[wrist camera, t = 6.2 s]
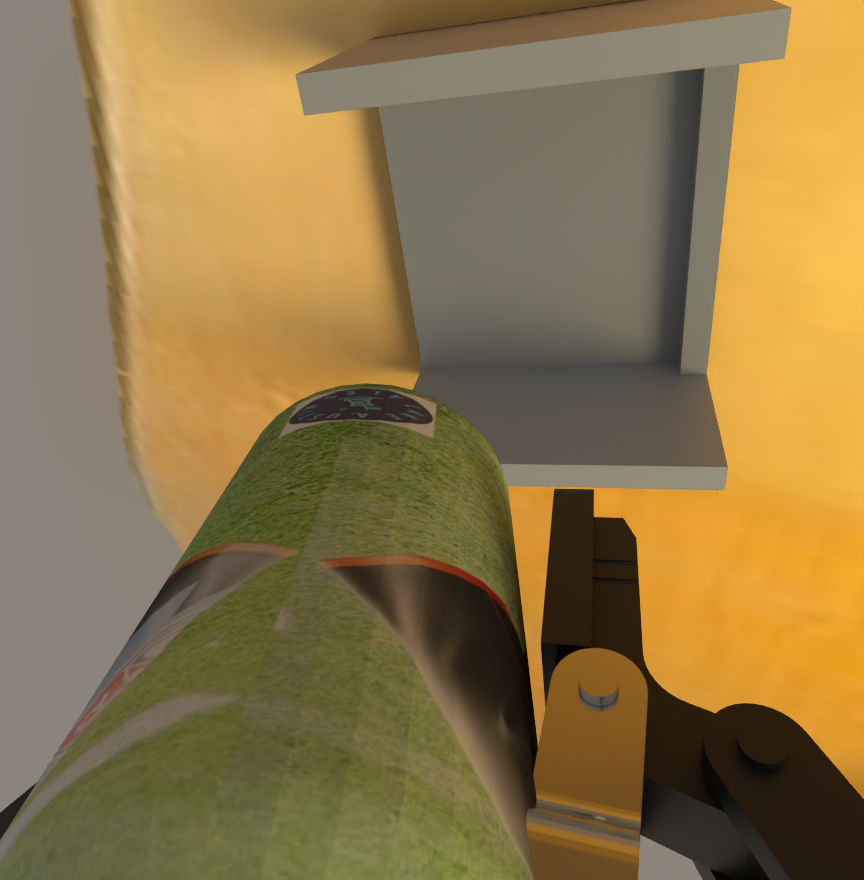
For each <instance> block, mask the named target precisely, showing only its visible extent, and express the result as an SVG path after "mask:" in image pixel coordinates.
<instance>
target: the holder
mask: <svg viewBox="0 0 864 880" xmlns="http://www.w3.org/2000/svg"><path fill="white" fill-rule="evenodd" d="M790 14H791V8H790V7H788V6H786V5H783V4H781V3H778V2H776V1H773V0H633V1H626V2H619V3H612V4H605V5H598V6H591V7H584V8H577V9H570V10H563V11H556V12H549V13H543V14H536V15H529V16H522V17H515V18H508V19H501V20H494V21H487V22H480V23H473V24H466V25H459V26H453V27H446V28H439V29H432V30H425V31H418V32H411V33H404V34H397V35H390V36H383V37H376V38H373V39H371V40H369V41H367V42H365V43H362V44H360V45H358V46H356V47H354V48H352V49H350V50H347V51H345V52H343V53H341V54H339V55H337V56H334V57H332V58H330V59H328V60H326V61H324V62H322V63H319V64H317V65H315V66H313V67H311V68H309V69H306V70H304V71H302V72H300V73H298V74H296V75H295V76H296V80H297V84H298V89H299V93H300V98H301V102H302V107H303V111H304V115H312V114H321V113H329V112H337V111H346V110H354V109H363V108H371V107H378V108H379V114H380V120H381V126H382V132H383V138H384V144H385V150H386V156H387V162H388V168H389V174H390V180H391V186H392V192H393V198H394V204H395V210H396V216H397V222H398V228H399V234H400V240H401V245H402V251H403V257H404V263H405V269H406V275H407V281H408V287H409V293H410V299H411V305H412V311H413V317H414V323H415V329H416V335H417V341H418V347H419V353H420V359H421V365H422V370H421V372H420V374H419V377H418V379H417V382H416V384H415V386H414V389H413V391H417V392H419V393H421V394H424V395H426V396H429V397H431V398H433V399H436V400H438V401H440V402H442V403H443V404H445V405H446V406H448V407H450V408H451V409H453V410H454V411H456V412H458V413H459V414H460V415H462V416H463V417H464V418H465V419H466V420H467V421H468V422H469V423H470V424H472V425H473V426H474V427H475V428H476V429H477V430H478V431H479V432H480V434H481V435H482V436H483V437H484V439H485V440H486V441H487V443H488V444H489V445H490V446H491V448H492V449H493V451H494V453H495V455H496V457H497V459H498V461H499V463H500V465H501V467H502V469H503V473H504V476H505V480H506V483H507V486H545V487H592V488H639V489H686V490H725V484H726V476H727V469H728V466H727V461H726V457H725V453H724V448H723V444H722V440H721V435H720V431H719V427H718V422H717V418H716V414H715V409H714V405H713V401H712V396H711V392H710V388H709V383H708V379H707V366H708V356H709V347H710V337H711V328H712V318H713V309H714V299H715V290H716V280H717V271H718V262H719V252H720V243H721V233H722V224H723V214H724V205H725V195H726V186H727V176H728V167H729V157H730V148H731V138H732V129H733V119H734V110H735V101H736V91H737V82H738V72H739V64H742V63H750V62H759V61H767V60H776V59H784V57H785V50H786V43H787V36H788V28H789V21H790Z"/></svg>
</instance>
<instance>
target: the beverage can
mask: <svg viewBox="0 0 864 880" xmlns="http://www.w3.org/2000/svg"><path fill="white" fill-rule="evenodd" d="M537 752H538V744H537V735H536V726H535V718H534V709H533V700H532V692H531V683H530V674H529V666H528V657H527V648H526V640H525V631H524V622H523V614H522V605H521V596H520V588H519V579H518V570H517V562H516V553H515V544H514V536H513V527H512V518H511V510H510V501H509V492H508V487H507V483H506V480H505V476H504V473H503V469H502V467H501V465H500V463H499V461H498V459H497V457H496V455H495V453H494V451H493V449H492V448H491V446H490V445H489V444H488V443H487V441H486V440H485V439H484V437H483V436H482V435H481V434H480V432H479V431H478V430H477V429H476V428H475V427H474V426H473V425H472V424H470V423H469V422H468V421H467V420H466V419H465V418H464V417H463V416H462V415H460V414H459V413H458V412H456V411H454V410H453V409H451V408H450V407H448V406H446V405H445V404H443V403H442V402H440V401H438V400H436V399H433V398H431V397H429V396H426V395H424V394H421V393H419V392H417V391H413V390H409V389H405V388H400V387H396V386H392V385H380V384H355V385H345V386H338V387H335V388H331V389H327V390H324V391H320V392H317V393H314V394H312V395H310V396H308V397H306V398H304V399H302V400H300V401H298V402H295V403H294V404H293V405H291V406H290V407H289V408H287V409H286V410H284V411H283V412H282V413H280V414H279V415H278V416H276V417H275V419H274V420H273V421H272V422H271V423H270V424H269V425H268V426H267V427H266V428H265V429H264V430H263V432H262V433H261V434H260V436H259V437H258V439H257V441H256V442H255V444H254V445H253V447H252V448H251V450H250V451H249V453H248V455H247V456H246V458H245V459H244V461H243V462H242V464H241V465H240V467H239V469H238V470H237V472H236V473H235V475H234V476H233V478H232V480H231V481H230V483H229V484H228V486H227V487H226V489H225V490H224V492H223V494H222V495H221V497H220V498H219V500H218V501H217V503H216V504H215V506H214V508H213V509H212V511H211V512H210V514H209V515H208V517H207V518H206V520H205V522H204V523H203V525H202V526H201V528H200V529H199V531H198V533H197V534H196V536H195V537H194V539H193V540H192V542H191V543H190V545H189V547H188V548H187V550H186V551H185V553H184V554H183V556H182V557H181V559H180V561H179V562H178V564H177V565H176V567H175V568H174V570H173V572H172V573H171V575H170V576H169V578H168V579H167V581H166V582H165V584H164V586H163V587H162V589H161V590H160V592H159V594H158V595H157V596H156V598H155V600H154V601H153V603H152V604H151V606H150V607H149V609H148V610H147V612H146V614H145V615H144V617H143V618H142V620H141V621H140V623H139V625H138V626H137V628H136V629H135V631H134V632H133V634H132V635H131V637H130V639H129V640H128V642H127V643H126V645H125V646H124V648H123V649H122V651H121V653H120V654H119V656H118V658H117V659H116V661H115V662H114V663H113V665H112V667H111V669H110V670H109V671H108V673H107V674H106V676H105V678H104V679H103V681H102V682H101V684H100V685H99V687H98V688H97V690H96V692H95V693H94V695H93V696H92V698H91V699H90V701H89V702H88V704H87V706H86V707H85V709H84V710H83V712H82V713H81V715H80V717H79V718H78V720H77V721H76V723H75V724H74V726H73V727H72V729H71V731H70V732H69V734H68V735H67V737H66V738H65V740H64V742H63V743H62V745H61V746H60V748H59V750H58V751H57V752H56V754H55V756H54V757H53V759H52V760H51V762H50V763H49V765H48V766H47V768H46V770H45V771H44V773H43V774H42V776H41V777H40V779H39V781H38V782H37V784H36V785H35V787H34V788H33V790H32V791H31V793H30V794H29V796H28V798H27V799H26V801H25V802H24V804H23V805H22V807H21V808H20V810H19V812H18V813H17V815H16V816H15V818H14V819H13V821H12V823H11V824H10V826H9V827H8V829H7V830H6V832H5V833H4V835H3V837H2V838H1V840H0V880H534V879H533V872H532V865H531V858H530V851H529V844H528V836H527V826H526V816H527V811H528V809H529V808H530V807H535V806H536V802H537V798H536V789H535V783H534V777H533V773H534V768H535V762H536V757H537Z"/></svg>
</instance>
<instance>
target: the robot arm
mask: <svg viewBox="0 0 864 880" xmlns="http://www.w3.org/2000/svg"><path fill="white" fill-rule="evenodd" d="M541 652H542V666H543V679H544V693H545V707H546V709H545V714H544V720H543V725H542V730H541V736H540V741H539V746H538V752H537V757H536V762H535V768H534V773H533V777H534V783H535V789H536V798H537V802H536V806H535V807H530V808H529V809H528V811H527V816H526V826H527V836H528V844H529V851H530V858H531V865H532V872H533V879H534V880H638V868H639V849H640V835H642V836H644V837H647V838H648V839H651V840H653V841H655V842H657V843H659V844H661V845H663V846H665V847H667V848H669V849H671V850H673V851H675V852H677V853H679V854H681V855H683V856H686V857H687V858H689V859H691V860H693V862H694V864H695V866H696V868H697V870H698V871H699V873H700V875H701V877H702V879H703V880H864V799H863V798H862V797H861V796H860V795H859V793H858V792H857V791H856V790H855V789H854V788H853V786H852V785H851V784H850V783H849V782H848V780H847V779H846V778H845V777H844V776H843V775H842V773H841V772H840V771H839V770H838V769H837V768H836V766H835V765H834V764H833V763H832V762H831V761H830V759H829V758H828V757H827V756H826V755H825V754H824V752H823V751H822V750H821V749H820V748H819V746H818V745H817V744H816V743H815V742H814V741H813V739H812V738H811V737H810V736H809V735H808V734H807V732H806V731H805V730H804V729H803V728H802V727H801V726H800V725H799V724H797V723H796V722H795V721H794V720H792V719H791V718H790V717H788V716H786V715H785V714H783V713H781V712H779V711H777V710H775V709H772V708H769V707H766V706H763V705H757V704H748V703H743V704H734V705H731V706H727V707H725V708H723V709H721V710H719V711H718V712H717V713H713V712H710V711H708V710H705V709H702V708H700V707H697V706H694V705H692V704H689V703H687V702H684V701H682V700H680V699H678V698H676V697H675V696H673V695H671V694H670V693H668V692H667V691H666V690H664V689H663V688H662V687H661V686H660V685H659V684H658V683H657V682H656V681H655V680H654V678H653V677H652V676H651V674H650V673H649V671H648V669H647V667H646V664H645V661H644V657H643V647H642V630H641V613H640V595H639V578H638V560H637V543H636V537H635V536H634V534H633V533H632V531H631V529H630V528H629V526H628V525H627V523H626V522H625V520H624V519H623V518H603V517H594V490H593V489H555V490H554V498H553V510H552V521H551V532H550V544H549V555H548V567H547V578H546V589H545V601H544V612H543V623H542V635H541ZM36 784H37V783H36ZM36 784H35V785H36ZM35 785H33V786H32V787H31V788H30V789H28V790H27V791H26V792H25V793H23V794H22V795H21V796H20V797H19V798H18V799H16V800H15V801H14V802H13V803H11V804H10V805H9V806H8V807H6V808H5V809H4V810H3V811H2V812H1V813H0V840H1V838H2V837H3V835H4V833H5V832H6V830H7V829H8V827H9V826H10V824H11V823H12V821H13V819H14V818H15V816H16V815H17V813H18V812H19V810H20V808H21V807H22V805H23V804H24V802H25V801H26V799H27V798H28V796H29V794H30V793H31V791H32V790H33V788H34V787H35Z"/></svg>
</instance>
